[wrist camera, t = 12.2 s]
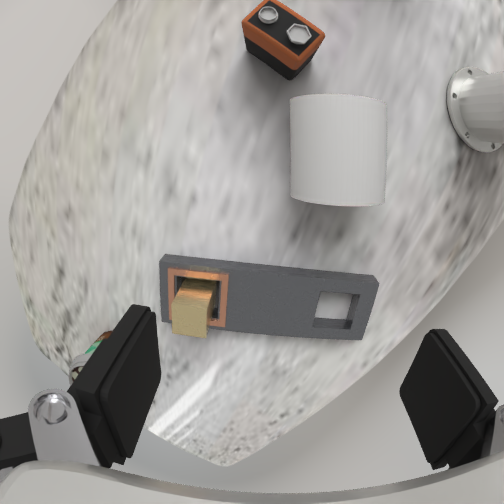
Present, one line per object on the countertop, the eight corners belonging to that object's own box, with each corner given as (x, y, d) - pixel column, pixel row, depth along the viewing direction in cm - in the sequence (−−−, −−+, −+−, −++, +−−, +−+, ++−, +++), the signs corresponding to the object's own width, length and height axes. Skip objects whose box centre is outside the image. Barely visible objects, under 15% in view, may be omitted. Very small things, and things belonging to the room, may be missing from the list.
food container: (104, 310, 43) (73, 347, 33) (136, 332, 44) (112, 373, 34) (85, 353, 46) (60, 389, 37) (113, 372, 47) (91, 411, 38)
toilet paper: (366, 190, 35) (399, 208, 26) (286, 188, 35) (295, 205, 26) (367, 110, 32) (402, 101, 22) (286, 105, 32) (295, 91, 23)
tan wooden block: (216, 277, 40) (206, 308, 32) (215, 303, 41) (206, 338, 34) (187, 274, 40) (171, 304, 32) (187, 300, 41) (172, 333, 34)
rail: (373, 275, 39) (380, 284, 36) (357, 330, 42) (362, 341, 39) (165, 253, 39) (158, 262, 36) (166, 312, 42) (161, 322, 39)
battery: (290, 82, 31) (299, 60, 22) (244, 49, 30) (238, 18, 20) (312, 58, 30) (330, 30, 20) (267, 26, 28) (269, -11, 19)
